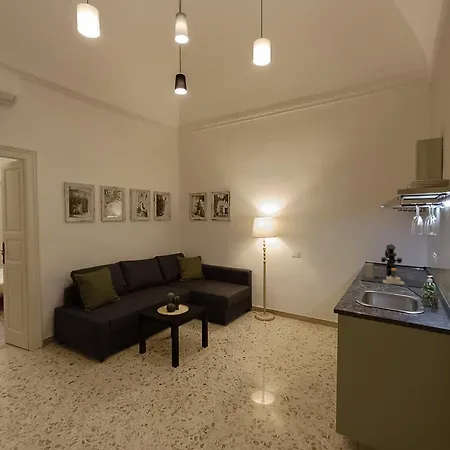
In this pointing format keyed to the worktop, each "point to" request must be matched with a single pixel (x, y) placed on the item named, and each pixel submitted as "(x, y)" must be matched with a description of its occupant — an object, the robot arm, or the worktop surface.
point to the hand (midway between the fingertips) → (391, 266)
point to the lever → (393, 272)
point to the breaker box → (393, 280)
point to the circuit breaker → (370, 270)
